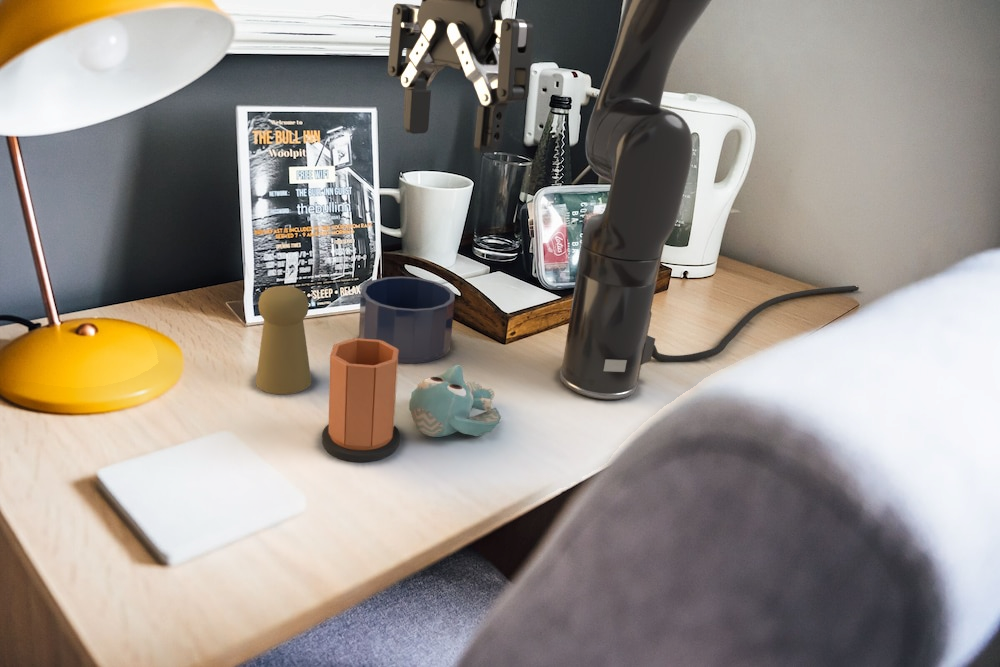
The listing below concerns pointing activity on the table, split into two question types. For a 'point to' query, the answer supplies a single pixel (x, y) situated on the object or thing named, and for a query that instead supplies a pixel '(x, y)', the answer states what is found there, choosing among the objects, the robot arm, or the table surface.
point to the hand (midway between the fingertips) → (449, 141)
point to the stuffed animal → (452, 405)
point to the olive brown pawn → (283, 341)
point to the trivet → (360, 454)
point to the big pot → (408, 316)
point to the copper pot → (362, 393)
